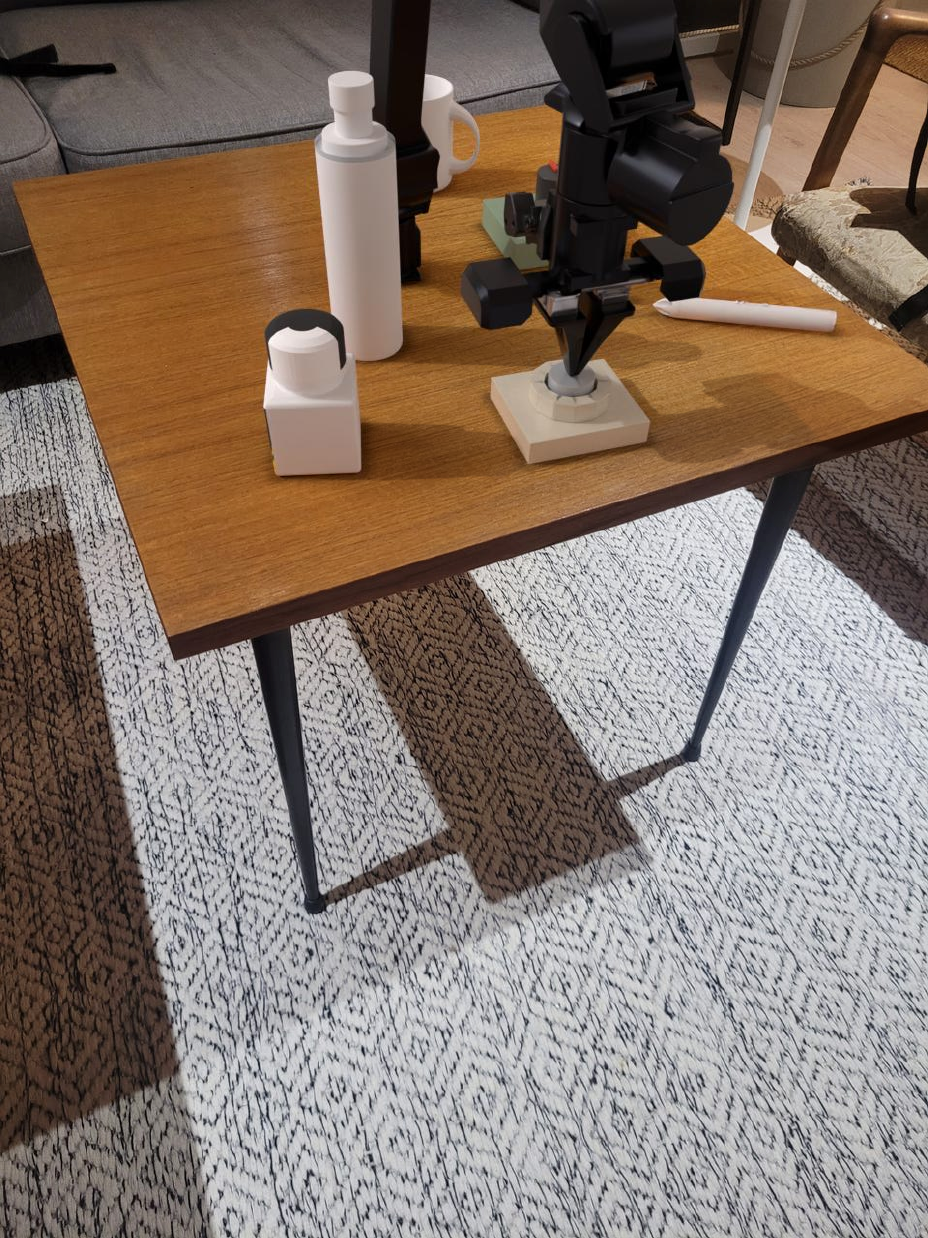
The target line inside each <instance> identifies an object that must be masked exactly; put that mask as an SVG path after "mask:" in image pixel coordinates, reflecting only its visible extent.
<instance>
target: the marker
mask: <svg viewBox="0 0 928 1238" xmlns="http://www.w3.org/2000/svg"><path fill="white" fill-rule="evenodd" d="M652 306H653V308H654V309H655V310H657V311H658V312H659V313H661V314H663V315H664V316H667V317H670V318H674V319H685V320H695V321H706V322H716V323H727V324H737V325H748V326H758V327H770V328H779V329H789V330H800V331H809V332H810V331H812V332H822V333H832V332H833V331H834V329H835V325H836V323H837V318H838V317H837V316H838V313H837V311H835V310H831V309H821V308H809V307H801V306H800V307H799V306H787V305H777V304H769V303H766V302H764V303H763V302H762V303H756V302H748V301H746V302H745V300H742V301H738V299H736V300H735V301H733V300H726V299H714V298H701V297H699V298H693V299H687V300H680V301H674V302H669V301H668V300H667V298H666V297H664V298H661V299H659V300H657V301H655V302H654V303H652Z"/></svg>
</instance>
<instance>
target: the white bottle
mask: <svg viewBox="0 0 928 1238" xmlns="http://www.w3.org/2000/svg"><path fill="white" fill-rule="evenodd" d="M327 82H328V84H327V85H328V95H329V105H330V108H331V109H332V110H333V116H334V121H333V122H330V123H328V124H326V125H325V126H324V127H323V128H322V130H321V132H320V133H318V134H317V136H316V137H315V138H314V152H315V162H316V173H317V184H318V193H319V194H318V195H319V203H320V204H319V205H320V214H321V225H322V234H323V246H324V254H325V255H324V256H325V265H326V275H327V284H328V285H327V286H328V294H329V304H330V314H332V315H334V316H335V317H336V318H337V319H338V320H339V321H340V322H341V323H342V325H343V327H344V336H345V347H346V353H352V354H353V355H354V356H355V361H360V362H375V361H381V360H385V359H388V358H390V357H392V356H393V355H395V354H397V352H399V351H400V349H401V348H402V346H403V341H404V334H403V333H404V331H403V311H402V310H403V307H402V306H403V305H402V304H403V303H402V284H401V276H400V249H399V221H398V196H397V171H396V148H395V144H394V143H395V138H394V136H393V135H392V134H391V133H390V132H388V131H387V130H386V128H385V127H384V126H383V125H381V124H379V123H377V122H374V121H372V108H373V107H374V104H375V101H374V81H373V77H372V76H371V75H369V73H367V72H364V71H360V70H345V71H343V70H342V71H338V72H335V73H333V74H331V75H330V76H329V77H328V78H327ZM390 138H391V139H392V140H393V141H394V142H393V141H392V140H391V139H390Z"/></svg>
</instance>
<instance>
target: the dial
mask: <svg viewBox="0 0 928 1238" xmlns="http://www.w3.org/2000/svg"><path fill="white" fill-rule="evenodd" d="M557 170H558V163H555V161H554V160H550V161H547V164H543V165H542V166H540V167H538V169H537V171H536V182H535V201H537V200H545V199H547V195H548V194H549V190H551V189H556V181H557Z"/></svg>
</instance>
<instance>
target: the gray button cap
mask: <svg viewBox="0 0 928 1238" xmlns="http://www.w3.org/2000/svg"><path fill="white" fill-rule="evenodd" d="M594 383H595V373H594V371H593V370H592V368H590V367H589V366H587V365H586V366H585V367H584V369H583V370H582V371H581V373H580V374H579V375H577V376H571V377H570V376H569V375H568V373H567V372H566V370H565V366H564V362H560V363H557V364H555V365H554V366H552V367H551V369H550V370H549V375H548V385H547V387H548V389H549V390H551V391H553V392H555V393H556V394H558V395H560V396H567V397H579V396H585V395H589V394H590V393H592V392H593V390H594Z"/></svg>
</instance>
